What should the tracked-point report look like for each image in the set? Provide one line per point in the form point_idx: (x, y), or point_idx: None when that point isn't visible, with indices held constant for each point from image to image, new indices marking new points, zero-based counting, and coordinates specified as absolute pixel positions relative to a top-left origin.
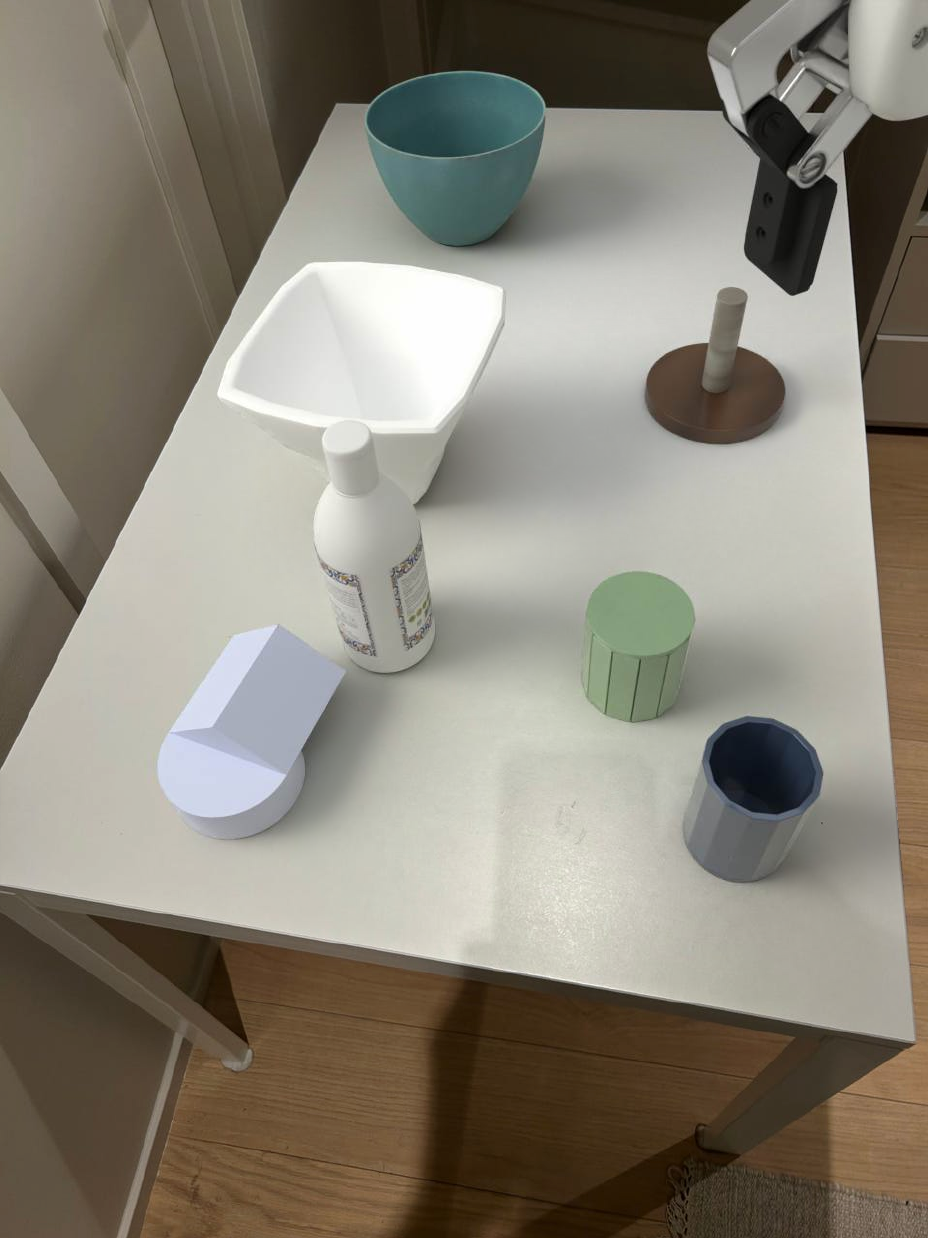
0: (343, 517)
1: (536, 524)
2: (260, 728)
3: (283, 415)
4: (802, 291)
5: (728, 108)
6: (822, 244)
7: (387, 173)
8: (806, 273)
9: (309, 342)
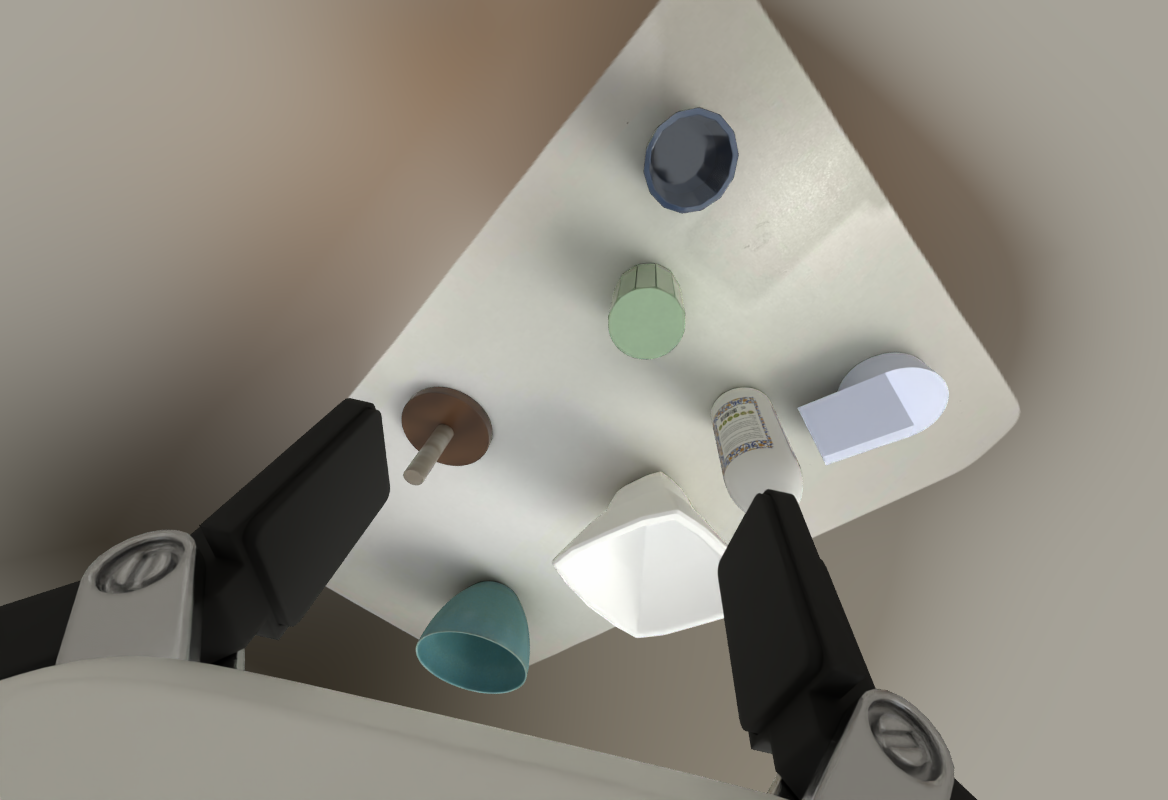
0: (795, 497)
1: (609, 419)
2: (881, 407)
3: None
4: (782, 492)
5: None
6: (778, 549)
7: (528, 650)
8: (794, 517)
9: (663, 593)
